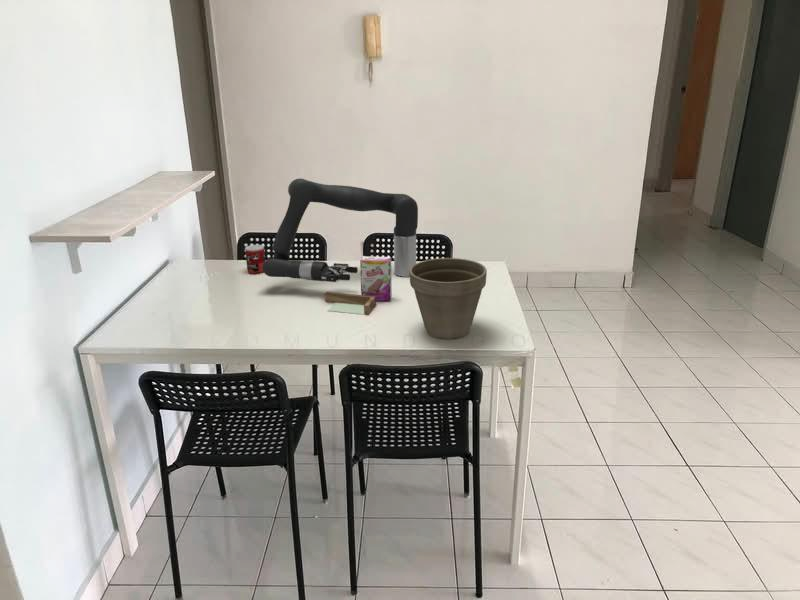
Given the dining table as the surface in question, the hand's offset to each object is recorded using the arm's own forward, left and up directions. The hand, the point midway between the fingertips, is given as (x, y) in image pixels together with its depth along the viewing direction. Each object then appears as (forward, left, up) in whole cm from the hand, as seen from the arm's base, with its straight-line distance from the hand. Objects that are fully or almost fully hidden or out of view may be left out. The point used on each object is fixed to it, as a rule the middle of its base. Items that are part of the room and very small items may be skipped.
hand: (353, 273), depth 226 cm
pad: (+11, +2, -10) cm, 15 cm away
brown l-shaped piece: (+10, +1, -10) cm, 14 cm away
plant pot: (+21, +40, -10) cm, 46 cm away
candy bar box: (0, +9, -10) cm, 13 cm away
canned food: (-19, -51, -10) cm, 55 cm away
